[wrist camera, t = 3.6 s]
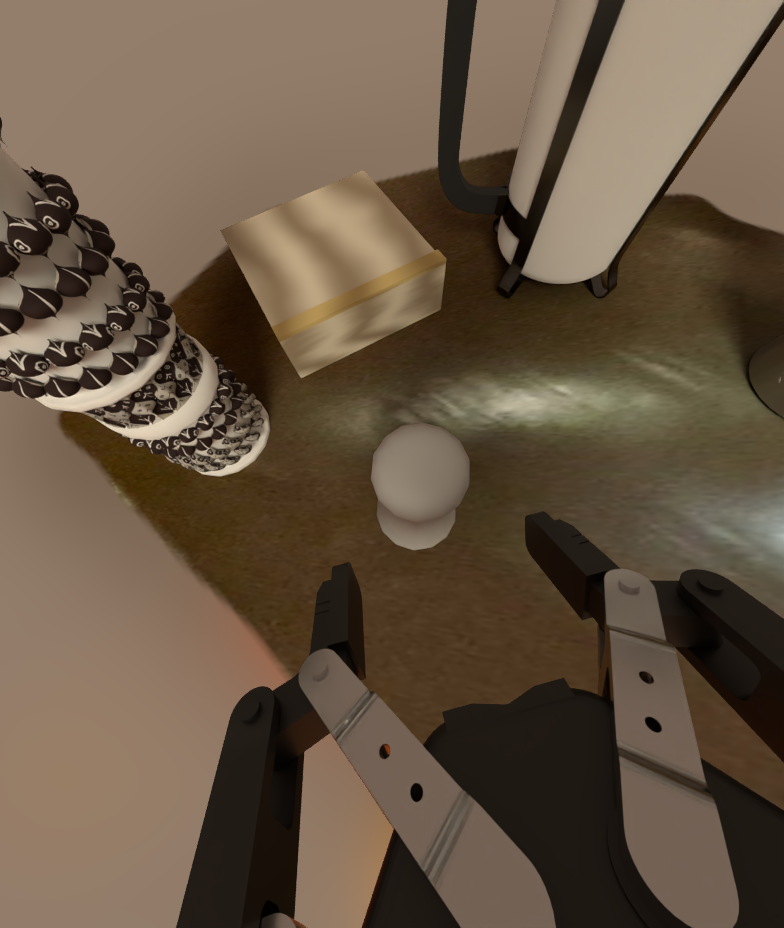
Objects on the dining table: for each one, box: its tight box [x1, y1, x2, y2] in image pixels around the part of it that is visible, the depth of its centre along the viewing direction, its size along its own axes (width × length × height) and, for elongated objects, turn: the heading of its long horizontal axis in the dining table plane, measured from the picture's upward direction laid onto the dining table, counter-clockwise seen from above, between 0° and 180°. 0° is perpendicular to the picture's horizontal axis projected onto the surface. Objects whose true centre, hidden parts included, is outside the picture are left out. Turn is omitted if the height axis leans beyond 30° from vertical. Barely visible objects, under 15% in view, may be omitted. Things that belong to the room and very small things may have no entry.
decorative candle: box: [0, 118, 271, 476], centre depth 16 cm, size 9×9×25 cm
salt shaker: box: [371, 423, 470, 550], centre depth 18 cm, size 6×6×13 cm
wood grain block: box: [221, 170, 446, 378], centre depth 30 cm, size 16×16×5 cm
